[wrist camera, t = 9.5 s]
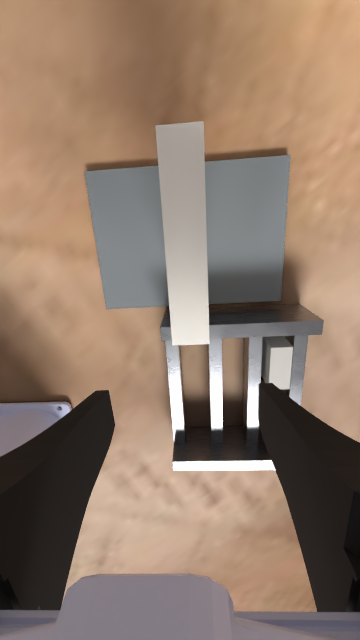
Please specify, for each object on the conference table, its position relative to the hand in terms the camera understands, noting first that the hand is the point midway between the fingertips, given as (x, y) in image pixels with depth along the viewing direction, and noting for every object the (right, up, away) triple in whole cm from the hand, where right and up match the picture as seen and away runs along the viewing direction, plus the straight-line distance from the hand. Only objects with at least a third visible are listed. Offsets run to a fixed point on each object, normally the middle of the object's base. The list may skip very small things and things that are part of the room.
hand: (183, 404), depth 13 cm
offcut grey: (+8, +1, +10) cm, 13 cm away
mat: (0, +10, +7) cm, 13 cm away
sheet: (0, +10, +7) cm, 12 cm away
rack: (+4, -1, +11) cm, 12 cm away
